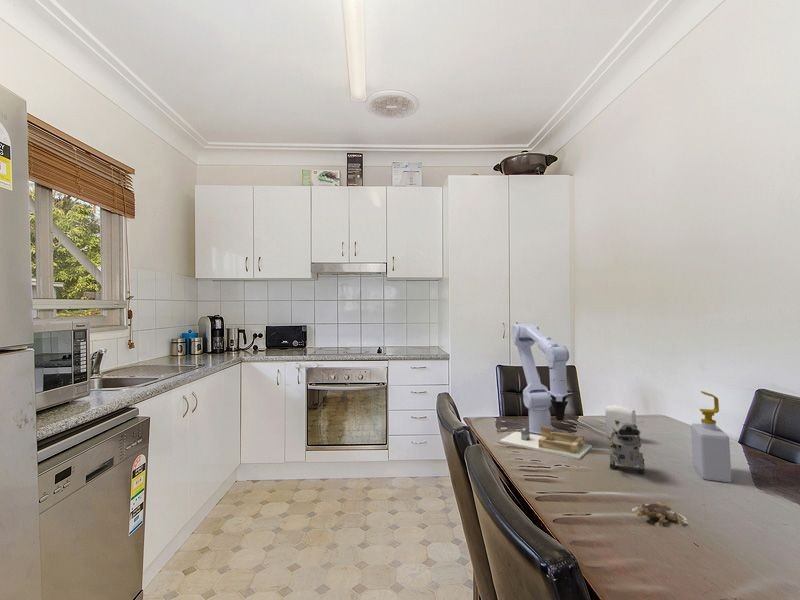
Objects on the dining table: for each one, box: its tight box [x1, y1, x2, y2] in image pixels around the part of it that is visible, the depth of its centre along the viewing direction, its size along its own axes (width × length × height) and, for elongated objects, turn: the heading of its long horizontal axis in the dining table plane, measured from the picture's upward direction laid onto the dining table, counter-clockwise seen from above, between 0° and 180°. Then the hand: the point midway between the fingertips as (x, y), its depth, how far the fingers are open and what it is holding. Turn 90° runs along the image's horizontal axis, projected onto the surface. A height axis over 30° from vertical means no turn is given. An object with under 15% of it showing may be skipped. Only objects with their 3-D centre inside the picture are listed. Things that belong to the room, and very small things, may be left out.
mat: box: [539, 440, 591, 456], centre depth 138 cm, size 13×13×1 cm
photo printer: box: [605, 404, 637, 439], centre depth 147 cm, size 10×4×12 cm, turn 39°
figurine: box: [609, 419, 646, 475], centre depth 118 cm, size 9×12×15 cm
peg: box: [520, 426, 531, 441], centre depth 147 cm, size 3×3×4 cm
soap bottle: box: [690, 390, 732, 483], centre depth 115 cm, size 12×7×23 cm, turn 155°
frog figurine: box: [631, 501, 688, 528], centre depth 91 cm, size 12×12×4 cm
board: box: [498, 431, 593, 460], centre depth 142 cm, size 14×28×1 cm, turn 49°
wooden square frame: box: [538, 426, 585, 454], centre depth 139 cm, size 12×13×6 cm
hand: (559, 417), depth 144 cm, fingers open, 7 cm apart
